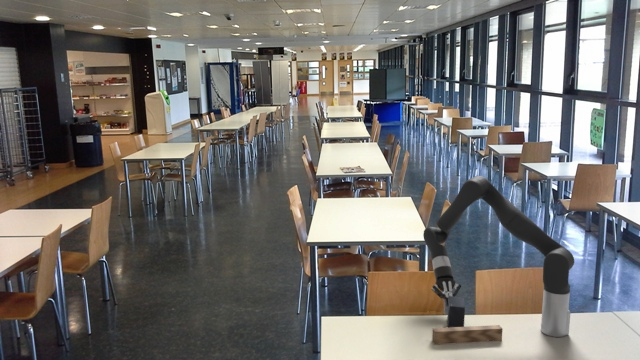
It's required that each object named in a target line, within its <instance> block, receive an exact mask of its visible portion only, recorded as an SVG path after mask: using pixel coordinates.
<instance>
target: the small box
mask: <svg viewBox="0 0 640 360" xmlns="http://www.w3.org/2000/svg"><path fill="white" fill-rule="evenodd" d="M465 305H466V304H465V299H464V296H463V297H462V296H455V297H454V296H448V307H447V319H446V322H447V324H446V325H447V326H446V328H449V327H465V315H466V314H465V313H466V307H465Z"/></svg>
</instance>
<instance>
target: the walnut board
mask: <svg viewBox="0 0 640 360" xmlns="http://www.w3.org/2000/svg"><path fill="white" fill-rule="evenodd" d="M431 334H432V336H431V340H432V342H433V344H434V345H449V344H467V343H468V344H469V343H470V344H471V343H487V342H502V341H503V327H502V326H501V325H499V324H493V325H473V326H464V327H449V328H448V327H432V333H431Z"/></svg>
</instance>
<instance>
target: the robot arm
mask: <svg viewBox="0 0 640 360" xmlns="http://www.w3.org/2000/svg"><path fill="white" fill-rule="evenodd" d="M479 200H483V202H485V203H487V204H488V206H490V207H491V208H492V210H493V211H494V213H495V215H496V217H497V219H498V221H499V223H500V225H501V226H502V227H503V228H504V229H505V230H506V231H507V232H508V233H510V234H511V235H512V236H513V237H514V238H516V239H518V240H519V241H521V242H523V243H526V244H527V245H529V246H531V247H533V248H535V249H536V250H537V251H538V252H540V253H541V254H542V255H543V257H544V260H543V265H542V266H543V267H542V283H543V292H542V293H543V294H542V295H543V296H542V309H541V322H540V331H541V333H543V334H544V335H547V336H548V337H552V338H553V337H554V338H562V337H565V336H568V335H569V334H570V323H571V310H569V309H570V307H569V305H570V294H571V293H570V291H571V284H570V283H569V276H570V274H569V273H570V270H571V269H572V268H573V266H574V265H575V257H574V255H573V254H572V252H571V251H570V250H569V249H567V248H566V247H565V246H563V245H562V244H561V243H559V241H556V240H555V239H554V238H552V237H551V236H550V235H549V234H547V233H546V232H545V230H543V229H542V228H541V227H540V226H538V225H537V224H536V223H535V222H534V221H532V219H531V218H529V217H528V215H526V214H525V213H523V212H522V211H521V210H520V209H519V208H518V207H516V206H515V205H514V204H513V203H512V202H511V201H510V200H509V199H508V198H506V197H505V196H504V195H503V194H502V193H501V191H499V190H498V189H497V187H495V186H494V185H493V184H492V183H491V181H490V180H489V179H487V178H486V177H484V176H482V175H477V176H473V177H471V178H470V179H467V180H466V181H465V182H464V183H463V184H462V186H461V188H460V190H459V191H458V193H457V195H456V197H455V198H454V200H453V201H452V203H451V204H450V205H449V206H448V207H447V209H446V210H445V211H444V212H443V213H442V214H441V215H440V217H439V218H438V220H437V222H436V226H437V227H435V226H427V227H425V228H424V230H423V235H422V236H423V240H424V242H425V244H426V246H427V248H428V250H429V252H430V254H431V255H430V256H431V261H432V269H433V274H434V279H435V284H434V285H433V286H432V287H431V291H432V292H433V293H435V294H436V295H437V296H438V297H439V298H440V299H444V302H445V306H446V307H447V308H448V296H454V297H457V296H458V293H459V291H460V289H461V288H462V284H458V283H457V282H456V280H455V278H454V274H453V270H452V266H451V261H450V259H449V254H448V250H447V247H446V246H445V245H442V244H444V243H446V242H447V240H448V238H449V236H450V233H451V231H452V229H453V228H454V227H455V226H456V225H457V224H458V222H459V221H460V220H461V218H462V216H463V214H464V213H465V211H466V210H467V209H468V208H469V207H470V206H471V205H472V204H474V203H475V202H476V201H479ZM453 289H455V290H454V291H453Z"/></svg>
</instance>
